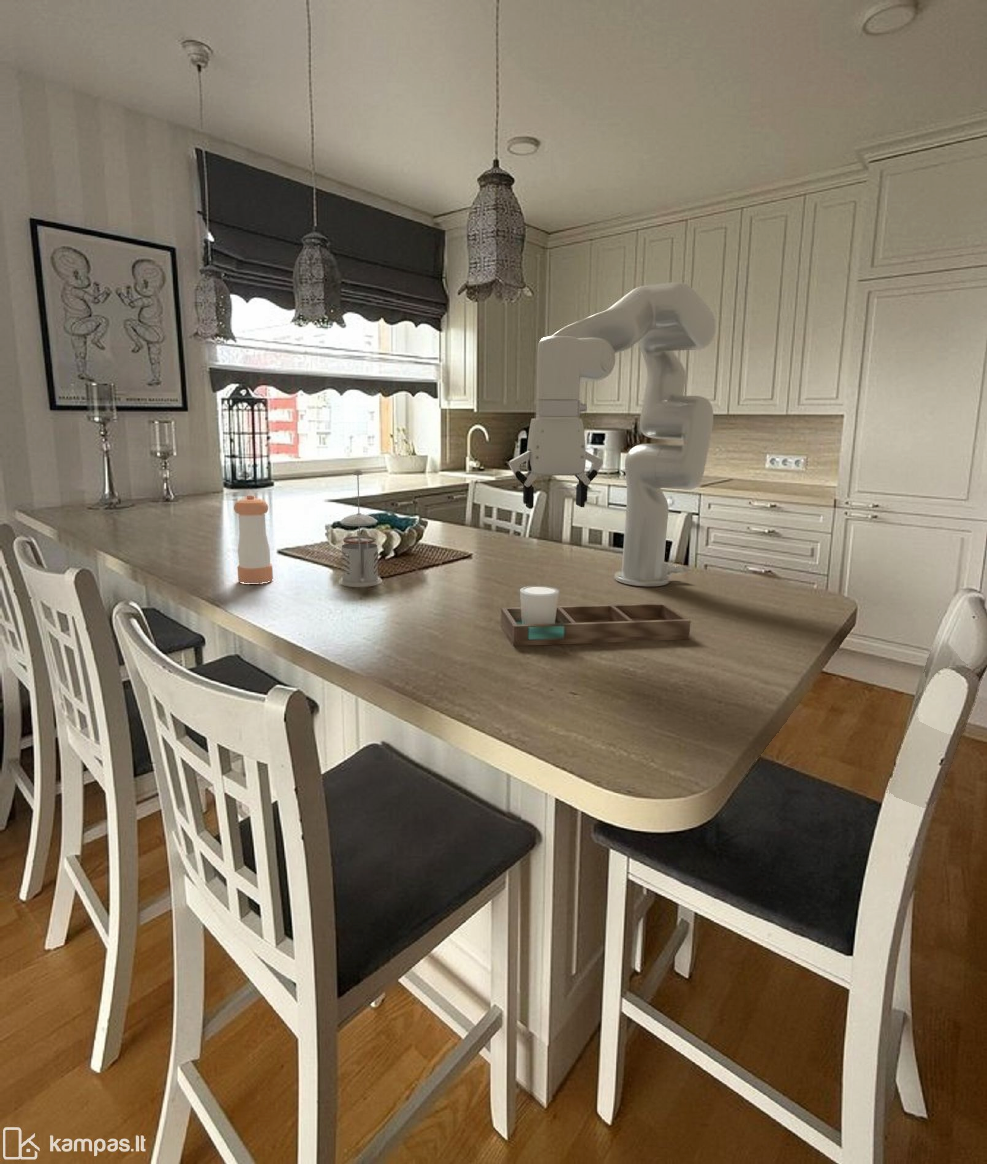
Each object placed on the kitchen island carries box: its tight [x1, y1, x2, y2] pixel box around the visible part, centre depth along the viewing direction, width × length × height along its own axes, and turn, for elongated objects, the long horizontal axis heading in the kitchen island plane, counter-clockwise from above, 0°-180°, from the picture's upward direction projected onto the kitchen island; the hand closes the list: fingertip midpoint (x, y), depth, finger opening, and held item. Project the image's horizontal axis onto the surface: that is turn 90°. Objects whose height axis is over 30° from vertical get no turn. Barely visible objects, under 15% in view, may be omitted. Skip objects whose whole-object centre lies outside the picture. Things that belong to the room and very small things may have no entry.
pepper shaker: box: [233, 494, 274, 583], centre depth 147 cm, size 7×7×19 cm
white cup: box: [519, 585, 560, 625], centre depth 117 cm, size 7×7×7 cm
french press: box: [338, 469, 383, 588], centre depth 148 cm, size 10×12×25 cm
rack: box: [500, 602, 691, 647], centre depth 119 cm, size 31×12×3 cm, turn 100°
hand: (554, 506), depth 123 cm, fingers open, 9 cm apart
